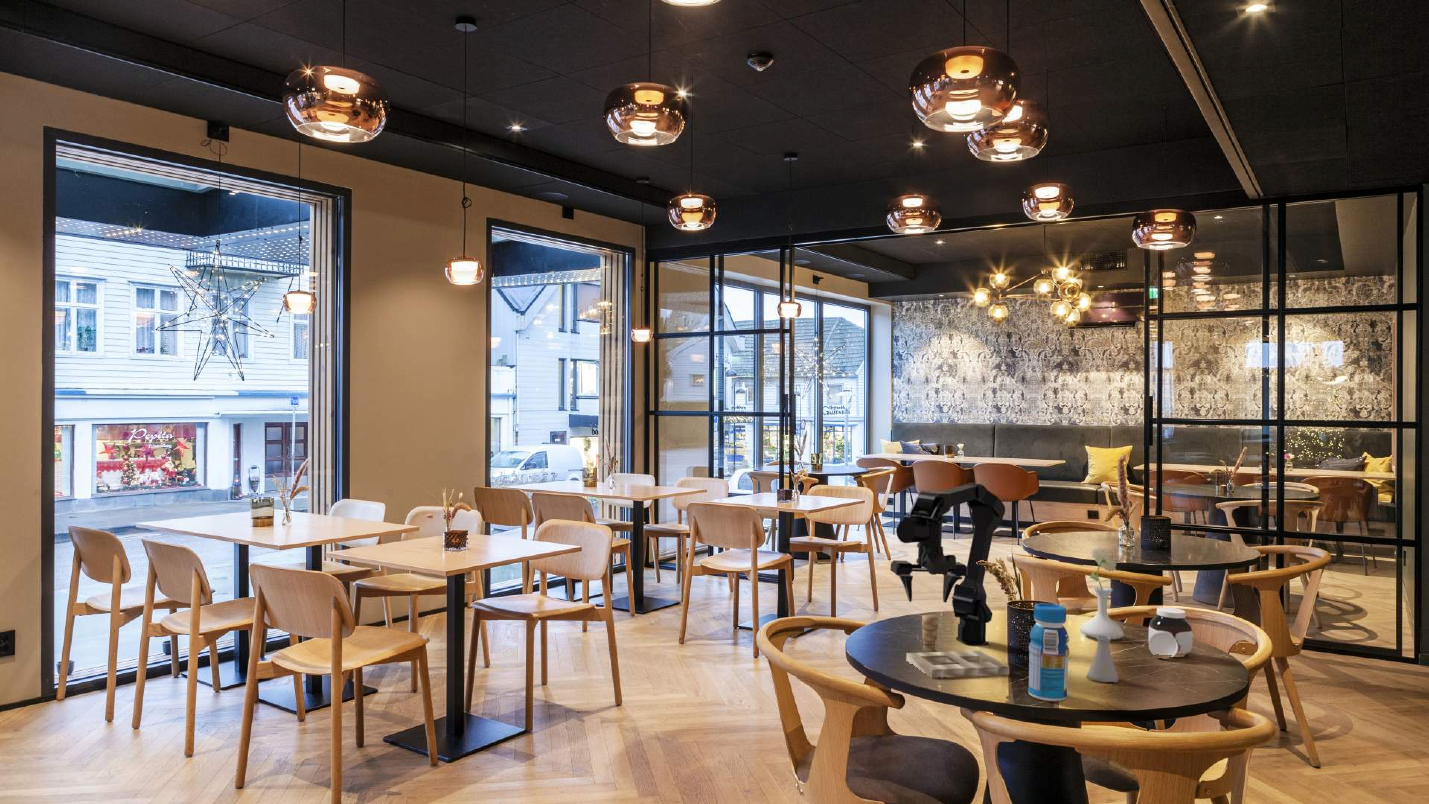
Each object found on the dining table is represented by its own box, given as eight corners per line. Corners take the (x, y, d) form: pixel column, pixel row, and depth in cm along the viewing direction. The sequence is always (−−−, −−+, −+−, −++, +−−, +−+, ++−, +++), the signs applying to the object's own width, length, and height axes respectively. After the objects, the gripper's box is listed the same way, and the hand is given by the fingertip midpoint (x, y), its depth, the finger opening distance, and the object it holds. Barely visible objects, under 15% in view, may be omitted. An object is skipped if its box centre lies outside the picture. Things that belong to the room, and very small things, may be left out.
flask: (1122, 685, 216) (1123, 642, 216) (1089, 682, 218) (1090, 639, 218) (1115, 676, 223) (1116, 634, 223) (1083, 673, 225) (1084, 632, 225)
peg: (932, 648, 243) (933, 614, 243) (939, 653, 239) (940, 618, 239) (918, 649, 242) (919, 614, 242) (925, 653, 238) (926, 618, 238)
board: (979, 658, 235) (979, 649, 235) (1009, 674, 222) (1009, 665, 222) (906, 661, 231) (906, 652, 231) (931, 678, 217) (932, 668, 217)
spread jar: (1183, 651, 248) (1185, 607, 248) (1201, 663, 237) (1203, 617, 237) (1137, 649, 249) (1138, 605, 249) (1152, 660, 238) (1154, 615, 238)
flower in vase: (1130, 643, 255) (1133, 552, 254) (1089, 642, 255) (1091, 551, 255) (1111, 631, 268) (1113, 544, 267) (1071, 630, 268) (1074, 543, 268)
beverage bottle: (1019, 694, 207) (1022, 604, 207) (1042, 688, 212) (1045, 600, 212) (1052, 705, 200) (1055, 612, 200) (1075, 698, 205) (1078, 608, 205)
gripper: (904, 544, 230) (902, 608, 229) (977, 546, 232) (974, 609, 232) (891, 538, 241) (888, 598, 240) (960, 540, 243) (957, 600, 243)
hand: (927, 601), depth 238 cm, fingers open, 9 cm apart
